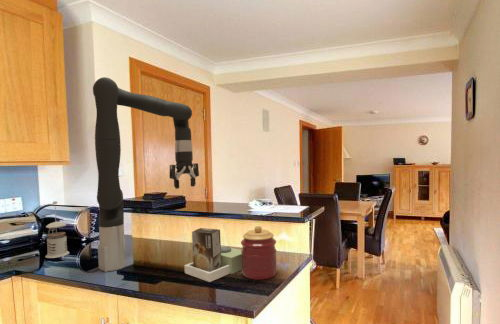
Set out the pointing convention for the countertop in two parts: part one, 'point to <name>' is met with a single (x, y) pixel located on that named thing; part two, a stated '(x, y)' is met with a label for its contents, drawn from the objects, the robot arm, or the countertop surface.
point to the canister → (258, 254)
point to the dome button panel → (230, 265)
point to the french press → (56, 240)
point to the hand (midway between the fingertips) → (185, 187)
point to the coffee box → (206, 249)
